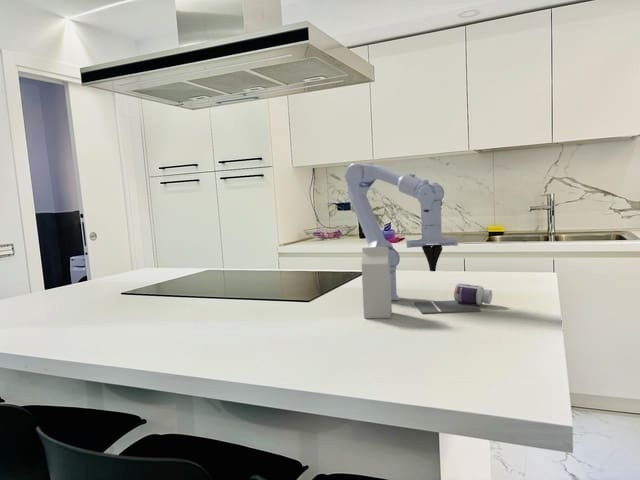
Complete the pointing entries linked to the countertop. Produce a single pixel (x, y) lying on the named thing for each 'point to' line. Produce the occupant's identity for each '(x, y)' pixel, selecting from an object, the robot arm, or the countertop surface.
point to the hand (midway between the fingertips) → (432, 270)
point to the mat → (445, 307)
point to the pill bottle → (472, 294)
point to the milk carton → (376, 282)
